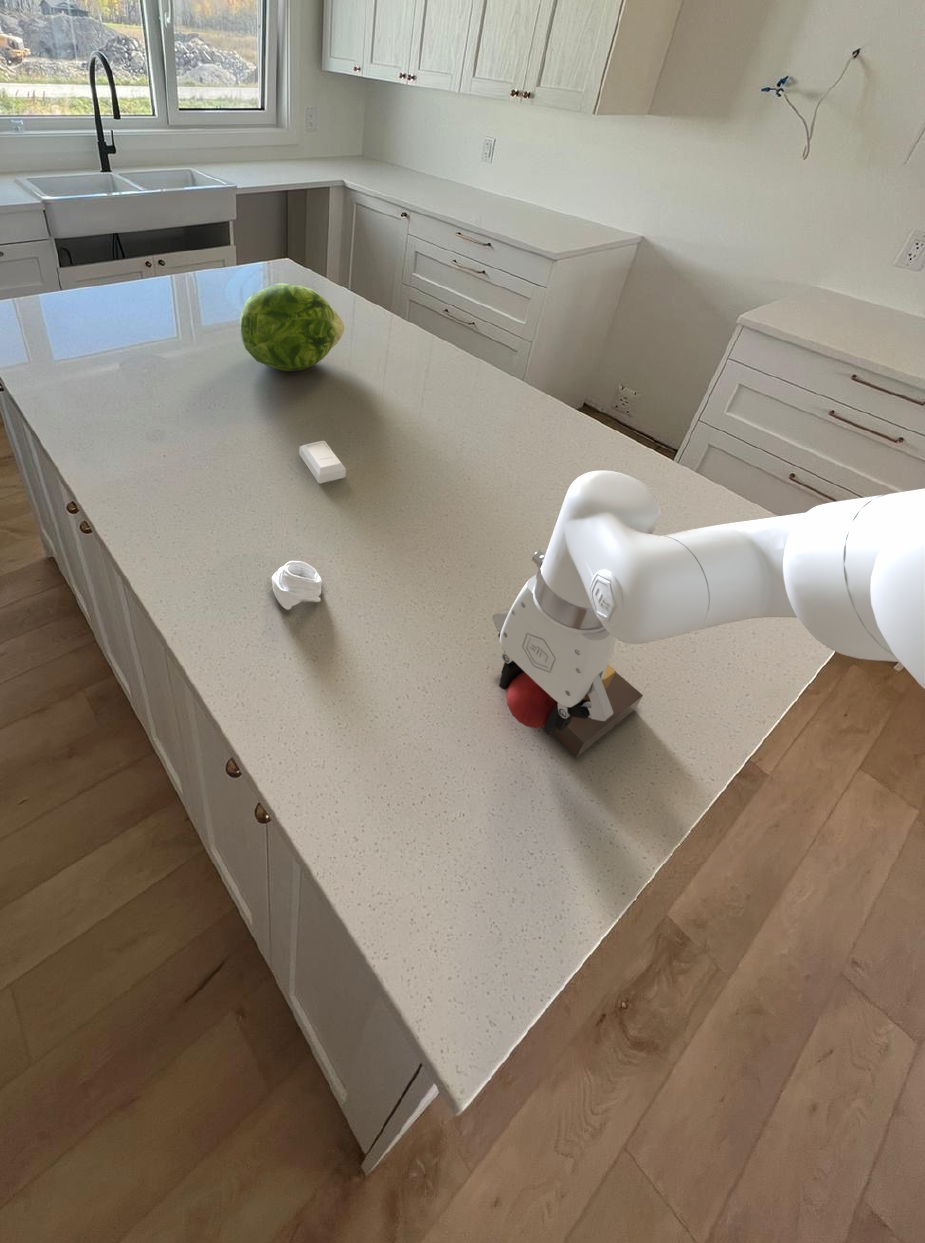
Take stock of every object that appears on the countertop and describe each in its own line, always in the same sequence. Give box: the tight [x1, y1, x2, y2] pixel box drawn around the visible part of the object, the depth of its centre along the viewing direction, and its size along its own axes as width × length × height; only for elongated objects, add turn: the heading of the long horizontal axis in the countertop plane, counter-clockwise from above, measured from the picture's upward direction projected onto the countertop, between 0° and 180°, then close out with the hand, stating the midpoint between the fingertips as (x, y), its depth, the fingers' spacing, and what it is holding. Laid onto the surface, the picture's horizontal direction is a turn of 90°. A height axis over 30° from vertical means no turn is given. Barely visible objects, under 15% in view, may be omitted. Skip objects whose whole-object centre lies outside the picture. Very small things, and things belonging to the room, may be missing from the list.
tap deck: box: [499, 671, 644, 758], centre depth 76 cm, size 12×11×3 cm
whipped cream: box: [271, 560, 323, 611], centre depth 86 cm, size 8×7×5 cm
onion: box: [505, 672, 558, 729], centre depth 69 cm, size 6×6×8 cm
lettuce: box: [239, 282, 345, 372], centre depth 137 cm, size 19×23×18 cm
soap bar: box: [299, 440, 347, 484], centre depth 111 cm, size 5×9×3 cm, turn 26°
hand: (532, 702), depth 70 cm, fingers closed on onion, 5 cm apart
